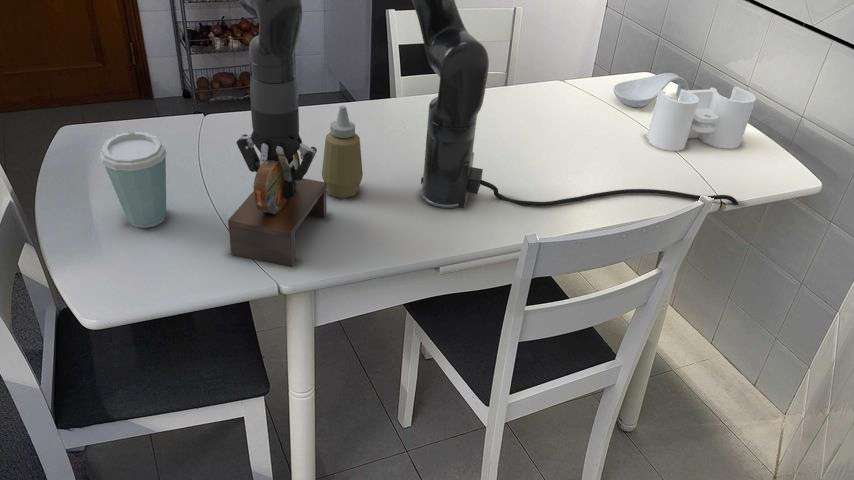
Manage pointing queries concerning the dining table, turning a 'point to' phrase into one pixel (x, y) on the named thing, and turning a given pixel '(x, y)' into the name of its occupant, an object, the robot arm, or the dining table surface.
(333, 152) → the squeeze bottle
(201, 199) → the dining table surface
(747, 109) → the bracket
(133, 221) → the disposable coffee cup
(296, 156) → the tin
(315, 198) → the stand
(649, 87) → the spoon rest
